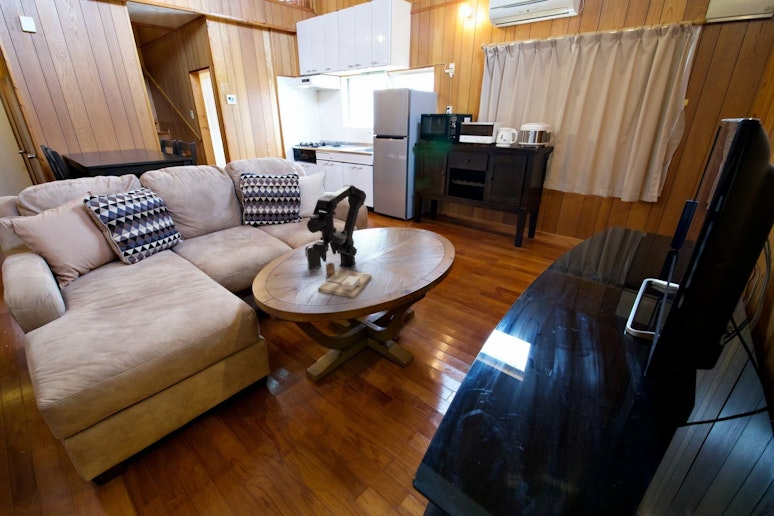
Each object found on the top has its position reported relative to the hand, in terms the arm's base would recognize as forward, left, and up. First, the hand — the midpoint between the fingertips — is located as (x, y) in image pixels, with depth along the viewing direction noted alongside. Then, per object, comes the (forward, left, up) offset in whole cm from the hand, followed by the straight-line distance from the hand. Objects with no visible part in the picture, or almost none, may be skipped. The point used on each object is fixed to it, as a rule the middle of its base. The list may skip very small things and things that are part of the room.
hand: (329, 257), depth 154 cm
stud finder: (+14, -8, -8) cm, 18 cm away
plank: (+10, -5, -9) cm, 15 cm away
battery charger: (-13, +6, -10) cm, 17 cm away
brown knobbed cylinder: (0, 0, -9) cm, 9 cm away
